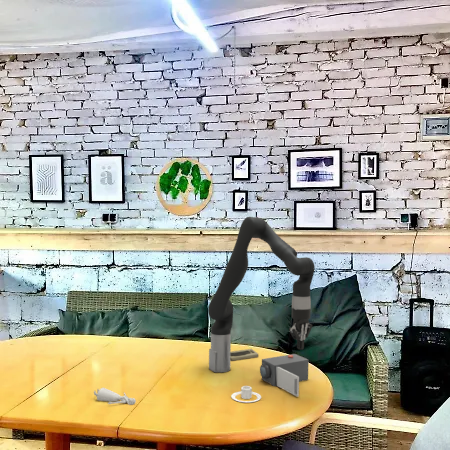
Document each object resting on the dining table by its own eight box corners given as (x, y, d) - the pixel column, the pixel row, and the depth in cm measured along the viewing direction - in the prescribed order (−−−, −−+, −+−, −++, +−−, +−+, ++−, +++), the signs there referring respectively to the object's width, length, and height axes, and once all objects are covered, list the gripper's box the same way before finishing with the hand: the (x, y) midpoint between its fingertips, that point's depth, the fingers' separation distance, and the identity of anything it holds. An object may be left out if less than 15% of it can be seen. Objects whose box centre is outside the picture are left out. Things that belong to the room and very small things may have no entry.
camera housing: (269, 387, 213) (269, 364, 213) (256, 380, 222) (257, 358, 222) (308, 379, 223) (308, 357, 223) (294, 373, 232) (294, 352, 232)
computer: (231, 362, 249) (231, 355, 249) (223, 357, 256) (223, 351, 256) (258, 358, 256) (258, 351, 256) (250, 354, 263) (250, 347, 263)
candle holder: (251, 406, 194) (252, 395, 194) (225, 399, 200) (225, 389, 200) (266, 396, 204) (266, 386, 204) (240, 390, 210) (240, 380, 210)
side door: (274, 385, 214) (274, 366, 214) (277, 384, 215) (277, 366, 215) (295, 397, 201) (296, 377, 201) (299, 396, 202) (299, 376, 202)
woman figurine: (104, 382, 205) (143, 391, 199) (104, 392, 206) (142, 402, 199) (87, 392, 195) (127, 402, 188) (86, 403, 195) (126, 413, 188)
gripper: (303, 303, 212) (303, 344, 212) (283, 307, 202) (282, 350, 203) (318, 306, 206) (317, 348, 207) (298, 310, 197) (297, 354, 198)
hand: (300, 349), depth 205 cm, fingers closed
